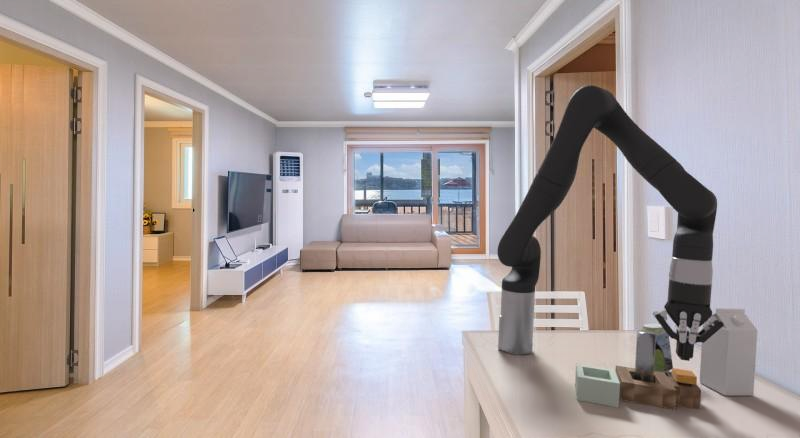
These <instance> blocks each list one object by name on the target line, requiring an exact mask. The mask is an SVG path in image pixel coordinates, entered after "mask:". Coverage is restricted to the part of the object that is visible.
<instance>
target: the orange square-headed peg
mask: <svg viewBox="0 0 800 438" xmlns="http://www.w3.org/2000/svg"><path fill="white" fill-rule="evenodd" d="M671 377H672V378H674V379H675V380H676V382H678V384H679V385H685V386H689V384H695V385H696V384H697V383H698V382H697V381H698V377H697V375H695V373H694V371H692V370H687V369H682V368H675V367H673V368H672V369H671ZM697 385H698V384H697Z"/></svg>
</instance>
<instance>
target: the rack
mask: <svg viewBox="0 0 800 438" xmlns="http://www.w3.org/2000/svg"><path fill="white" fill-rule="evenodd" d="M574 377H575V378H574V381H575V382H574V388H575V397H576V400H577V401H581V402H588V403H593V404H598V405H604V406H608V407H615V408H619V406H620V395H619V391H620V382H619V380H618V377H617V375H616V372H615V369H613V368H605V367H601V366H594V365H587V364H580V363H576V364H575V376H574Z"/></svg>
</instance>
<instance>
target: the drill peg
mask: <svg viewBox="0 0 800 438" xmlns="http://www.w3.org/2000/svg"><path fill="white" fill-rule="evenodd" d="M655 343H656V334H655V333H654V332H650V331H645V330H641V329H640V330H639V329H638V330H637V331H636V345H635V362H634V363H635V364H634V368H635V379H634V380H639V381H645V382H652V383H653V378H654V361H655Z"/></svg>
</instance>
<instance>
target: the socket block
mask: <svg viewBox="0 0 800 438" xmlns="http://www.w3.org/2000/svg"><path fill="white" fill-rule="evenodd" d="M614 370H615V372H616V375H617V377H618V380H619V382H620V391H619V399H620V400H621V401H625V402H630V403H635V404H643V405H647V406H653V407H659V408H665V409H669V410H670V409H671V410H676V406H679V407H686V408H691V409H696V410H697V409H698V410H701V401H702V390H701V388H700V387H699V386H698V384H696V385H695V384H689V386H685V385H679V384H678V382H676V380H675V379H674V377H672V376H671V377H669V376H668V375H666V372H665V373H662V372H656V371H654V378H653V383H652V382H645V381H639V380H634V379H635V367H627V366H621V365H615V369H614Z"/></svg>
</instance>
